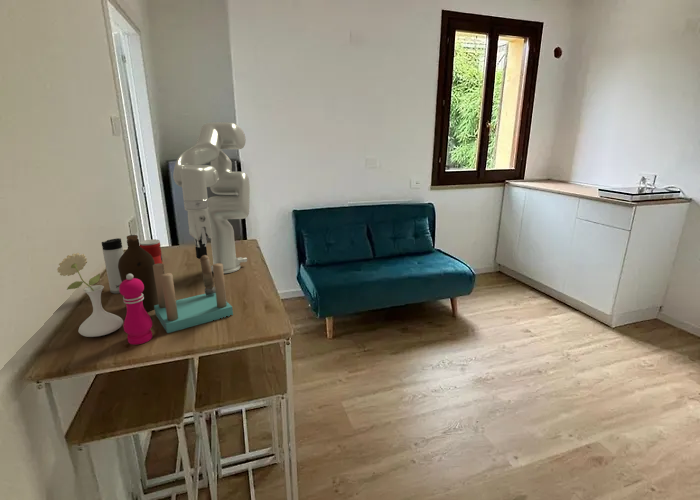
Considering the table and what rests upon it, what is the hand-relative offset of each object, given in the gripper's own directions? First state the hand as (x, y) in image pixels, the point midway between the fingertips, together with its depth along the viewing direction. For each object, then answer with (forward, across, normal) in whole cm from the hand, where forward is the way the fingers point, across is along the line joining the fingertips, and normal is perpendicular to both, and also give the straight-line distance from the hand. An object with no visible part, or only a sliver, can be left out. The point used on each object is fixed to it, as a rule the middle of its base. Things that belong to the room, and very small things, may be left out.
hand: (201, 257), depth 135 cm
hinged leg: (+12, -5, 0) cm, 13 cm away
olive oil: (+16, +6, +19) cm, 25 cm away
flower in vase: (+16, -5, +33) cm, 37 cm away
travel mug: (+15, +27, +23) cm, 39 cm away
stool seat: (+16, -10, +7) cm, 20 cm away
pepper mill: (+16, -17, +24) cm, 34 cm away
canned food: (+15, +51, +7) cm, 54 cm away
